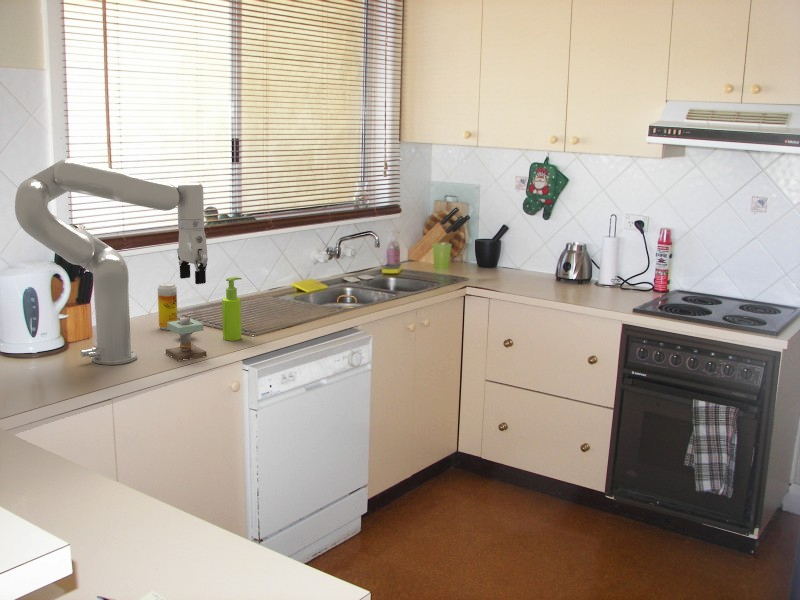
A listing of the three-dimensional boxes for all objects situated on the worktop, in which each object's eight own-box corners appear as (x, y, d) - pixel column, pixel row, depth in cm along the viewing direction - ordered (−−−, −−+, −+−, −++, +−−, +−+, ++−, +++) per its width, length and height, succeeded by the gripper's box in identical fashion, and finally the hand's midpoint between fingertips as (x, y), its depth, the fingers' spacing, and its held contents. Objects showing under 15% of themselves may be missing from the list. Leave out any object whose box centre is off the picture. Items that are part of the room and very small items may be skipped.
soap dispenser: (247, 337, 284) (246, 277, 280) (232, 341, 279) (231, 280, 274) (234, 334, 288) (233, 275, 283) (219, 338, 282) (217, 278, 277)
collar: (178, 334, 256) (178, 328, 256) (167, 328, 262) (166, 322, 262) (203, 330, 261) (203, 324, 261) (191, 324, 267) (191, 318, 267)
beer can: (172, 330, 290) (171, 287, 286) (155, 329, 291) (154, 285, 287) (180, 326, 295) (179, 283, 292) (164, 324, 297) (162, 282, 293)
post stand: (178, 361, 257) (177, 323, 255) (165, 353, 264) (164, 317, 261) (206, 356, 263) (205, 319, 260) (193, 349, 270) (192, 313, 267)
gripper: (216, 227, 253) (218, 284, 257) (189, 219, 266) (190, 274, 270) (193, 229, 249) (195, 287, 252) (166, 221, 261) (168, 277, 265)
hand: (192, 280), depth 261 cm, fingers open, 9 cm apart
